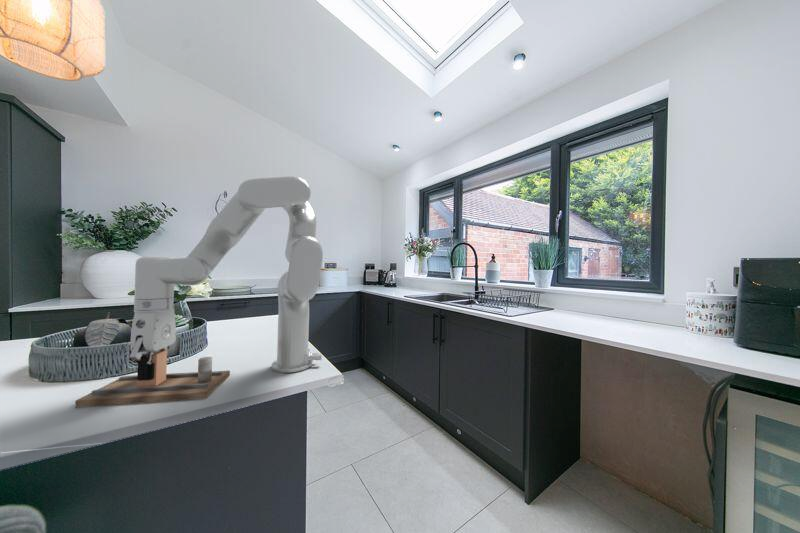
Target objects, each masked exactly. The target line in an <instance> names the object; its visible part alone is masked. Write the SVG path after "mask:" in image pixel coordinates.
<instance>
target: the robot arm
mask: <svg viewBox="0 0 800 533" xmlns="http://www.w3.org/2000/svg"><path fill="white" fill-rule="evenodd" d="M311 193H312V191H311V187H310V185H309V184H308V183H307V181H306V180H305V179H303V178H302V177H298V176H279V177H278V176H277V177H261V178H258V177H257V178H250V179H247V180H244V181H242V183H241V184H240V185H239V186H238V188H237V192H235V194H234V195H233V196H232V197H231V198H230V199H229V200H228V202H227V203H226V204H225V205H224V207H223V208H222V209H221V210H220V212H218V214H216V216H215V217H214V218H213V219H212V220H211V221H210V223H209V225H208V226H207V228H206V231H205V234H204V235H203V236H202V238H201V239H200V240H199V242H198V243H197V244H196V246H195V247H194V248H193V249H192V250H191V252H190V253H189V254H188V256H186V257H183V258H181V257H180V258H170V257H159V256H157V257H156V256H143V257H142V256H141V257H139V258H137V259H136V261H135V276H134V300H133V313H134V315H133V318H132V323H131V331H130V332H131V333H130V351H131V353H130V355H129V358H130V359H131V360H134V362H135V365H136V366H137V374H136V375H137V380H138V381H141V380H152V379H153V378H154V363H152V361H153V355H154V352H156V351H159V350H167V356H168V355H169V351H168V350H169V349H170V346H172V345H174V343H176V340H177V327H176V316H175V309H174V302H175V300H174V299H175V285H180V286H190V287H191V286H198V285H200V284H203V283H204V282H205V281H207V279H208V278H209V277H210V275H211V274H212V272H213V271H214V270H215V268H216V267H217V266H218V265H219V264H220V262H221V261H222V260H223V259H224V257H225V256H226V255H227V254H228V252H230V251H231V249H233V248H234V247H235V246H236V245H238V243H239V242H240V241H241V239H243V237H244V236H245V235H246V233H247V232H248V231H249V230H250V229H251V227H252V226H253V224H254V223H255V222H256V221H257V219H258V218H259V217H260V216H261V215H262V214H263V212H264V211H265V210H266V209H273V208H282V209H283V210H284V211H285V212H286V213H287V215H288V218H289V226H288V234H287V241H286V244H285V245H286V246H285V251H284V255H285V259H286V260H287V261H288V262H289V265H288V271H286V272H284V273H282V275H281V277H280V278H279V280H278V282H277V301H278V311H277V312H278V313H277V315H278V316H277V342H276V343H277V345H276V346H277V350H276V360H275V361H273V362H272V364H271V370H273V371H274V372H278V373H282V374H283V373H284V374H285V373H286V374H288V373H297V372H301V371H304V370H307V369H309V368H310V367H312V366H313V363H314V361H322V359H323V358H322V357H323V354H322V353H319V352H311V349H310V348H309V332H310V330H309V329H310V328H309V327H310V325H309V324H310V300H312V299H313V298H314V297H315V295H316V294H317V292H318V289H319V285H320V280H321V273H322V265H323V257H324V254H323V253H324V252H323V247H322V245H321V243H320V242H319V240H318V239H316V233H317V217H316V214H315V211H314V209H313V207H312V206H311V204H310V202H309V200H310V198H311V195H312V194H311ZM143 354H148V358H147V357H146V356H145V355H143Z"/></svg>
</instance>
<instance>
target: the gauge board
mask: <svg viewBox="0 0 800 533" xmlns="http://www.w3.org/2000/svg"><path fill="white" fill-rule="evenodd" d="M197 361H198V364H197V365H198V366H197V371H194V372H193V371H191V372H178V373H177V372H176V373H175V372H173V373H166V380H165V381H163V382H162V383H160V384H159V385H157V386H151V387H137V374H136V375H124V376H120V377H119V378H118V379H115V380H114V381H111V382H110V383H108V384H106V385H104V386H102V387H100V388H98V389H94V390H92V391H91V392H90V393H88V394H86V395H84V396H82V397H80V398H78V399H76V400H75V404H74V407H75V408H86V407H98V406H99V407H100V406H101V407H102V406H112V405H128V404H129V405H130V404H144V403H156V402H157V403H159V402H171V401H172V402H173V401H185V400H198V399H199V400H201V399H202V400H203V399H208V397H209V396H210V395H212V394H213V393H214V392H215V391H216V390H217V389H218V388H219V387H220V386H221V385H222V384H223V383H224V382H225V381H226V380H227V379H228V378H229V377H230V375H231V371H230V370H215V371H214V370H213V357H212V356H204V357H200V358H198V360H197Z"/></svg>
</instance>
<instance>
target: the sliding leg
mask: <svg viewBox="0 0 800 533" xmlns="http://www.w3.org/2000/svg"><path fill="white" fill-rule="evenodd" d="M143 355H145V356H146V357H147V358H148V354H143ZM167 357H168V355H167V350H159V351H156V352H154V355H153V361H152V363H154V378H153V379H152V380H141V381H138V380H137V387H151V386H157V385H159V384H160V383H162V382H163V381H165V380H166V374H167V360H168V358H167Z"/></svg>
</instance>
